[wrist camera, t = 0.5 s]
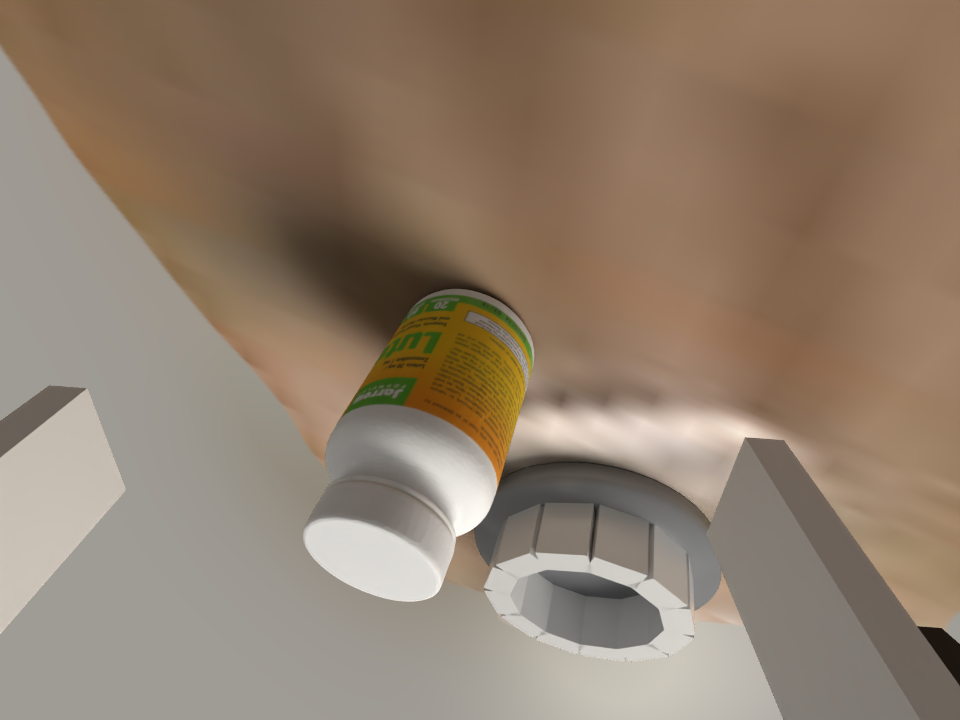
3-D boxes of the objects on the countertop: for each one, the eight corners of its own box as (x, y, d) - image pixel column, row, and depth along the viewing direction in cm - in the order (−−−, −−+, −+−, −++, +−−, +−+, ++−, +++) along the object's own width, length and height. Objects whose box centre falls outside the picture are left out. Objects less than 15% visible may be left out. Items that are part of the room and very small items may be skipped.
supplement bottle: (461, 257, 22) (335, 472, 13) (565, 353, 23) (510, 596, 15) (382, 332, 26) (246, 535, 17) (476, 410, 27) (393, 627, 19)
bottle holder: (507, 430, 28) (486, 500, 24) (770, 518, 27) (785, 603, 23) (464, 554, 37) (444, 617, 34) (657, 622, 36) (657, 694, 33)
